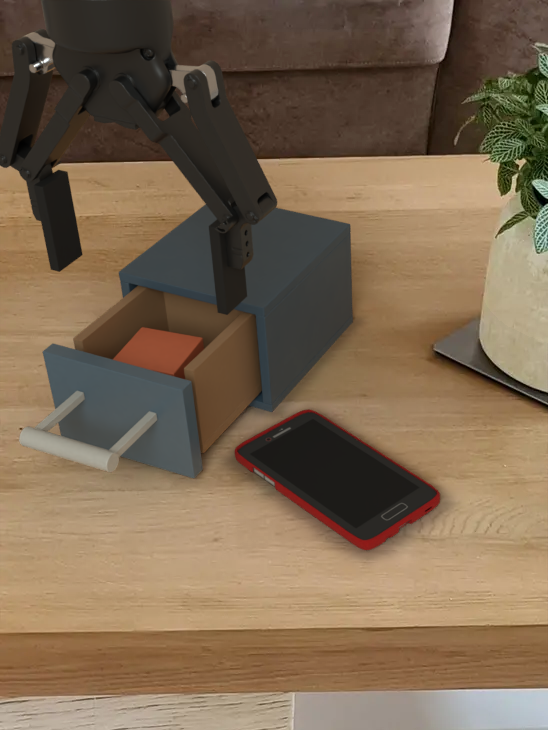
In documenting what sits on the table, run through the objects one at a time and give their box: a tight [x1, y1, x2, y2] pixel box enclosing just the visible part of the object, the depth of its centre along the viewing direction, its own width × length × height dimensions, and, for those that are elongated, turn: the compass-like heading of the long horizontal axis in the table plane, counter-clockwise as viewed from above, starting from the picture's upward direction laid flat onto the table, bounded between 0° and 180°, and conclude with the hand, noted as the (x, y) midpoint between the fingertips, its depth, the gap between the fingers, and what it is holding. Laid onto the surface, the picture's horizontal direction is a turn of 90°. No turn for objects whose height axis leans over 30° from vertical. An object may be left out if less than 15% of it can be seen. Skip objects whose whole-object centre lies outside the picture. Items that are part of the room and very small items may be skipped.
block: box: [113, 327, 204, 379], centre depth 87 cm, size 5×5×5 cm
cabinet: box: [118, 202, 354, 413], centre depth 95 cm, size 15×13×10 cm
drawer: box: [18, 285, 262, 479], centre depth 85 cm, size 20×11×8 cm, turn 158°
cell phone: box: [234, 409, 441, 551], centre depth 84 cm, size 8×15×1 cm, turn 46°
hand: (147, 283), depth 82 cm, fingers open, 13 cm apart
